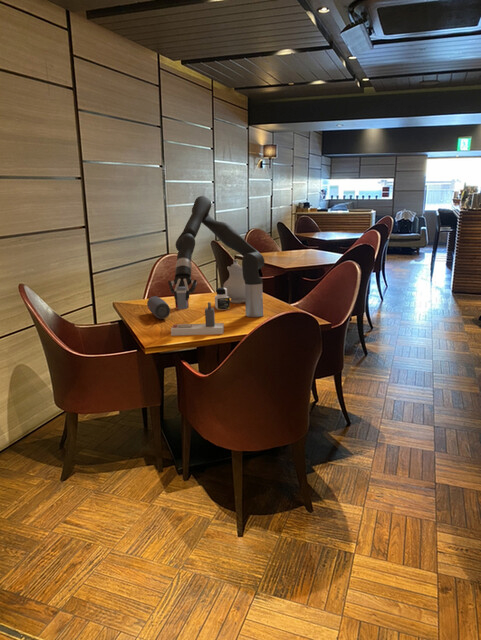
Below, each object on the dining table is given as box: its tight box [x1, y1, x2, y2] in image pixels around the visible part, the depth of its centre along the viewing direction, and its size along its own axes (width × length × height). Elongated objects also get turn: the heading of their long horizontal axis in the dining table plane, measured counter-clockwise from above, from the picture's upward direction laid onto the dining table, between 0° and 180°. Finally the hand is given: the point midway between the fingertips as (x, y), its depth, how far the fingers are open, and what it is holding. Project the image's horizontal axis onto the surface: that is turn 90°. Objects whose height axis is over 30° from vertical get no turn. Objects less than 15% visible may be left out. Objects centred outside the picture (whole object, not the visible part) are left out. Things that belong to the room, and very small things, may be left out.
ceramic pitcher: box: [222, 259, 245, 304], centre depth 294 cm, size 22×20×25 cm
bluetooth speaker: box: [146, 295, 171, 320], centre depth 262 cm, size 23×9×10 cm, turn 21°
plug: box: [176, 286, 189, 310], centre depth 224 cm, size 4×4×10 cm
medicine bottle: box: [214, 287, 231, 311], centre depth 276 cm, size 7×7×12 cm
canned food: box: [174, 299, 190, 310], centre depth 282 cm, size 8×8×11 cm
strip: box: [170, 302, 225, 337], centre depth 226 cm, size 24×9×14 cm, turn 89°
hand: (181, 299), depth 222 cm, fingers closed on plug, 4 cm apart
